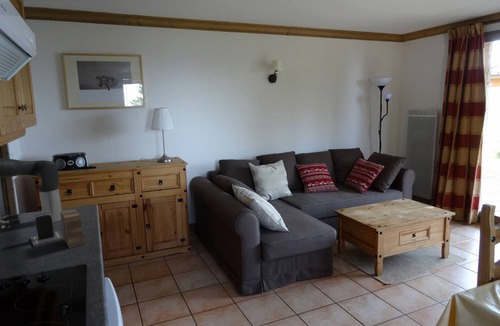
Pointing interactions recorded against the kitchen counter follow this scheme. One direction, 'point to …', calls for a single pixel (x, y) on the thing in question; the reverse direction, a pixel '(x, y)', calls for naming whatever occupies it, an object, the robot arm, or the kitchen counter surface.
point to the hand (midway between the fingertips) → (18, 218)
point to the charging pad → (48, 240)
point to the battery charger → (44, 226)
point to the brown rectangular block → (72, 228)
